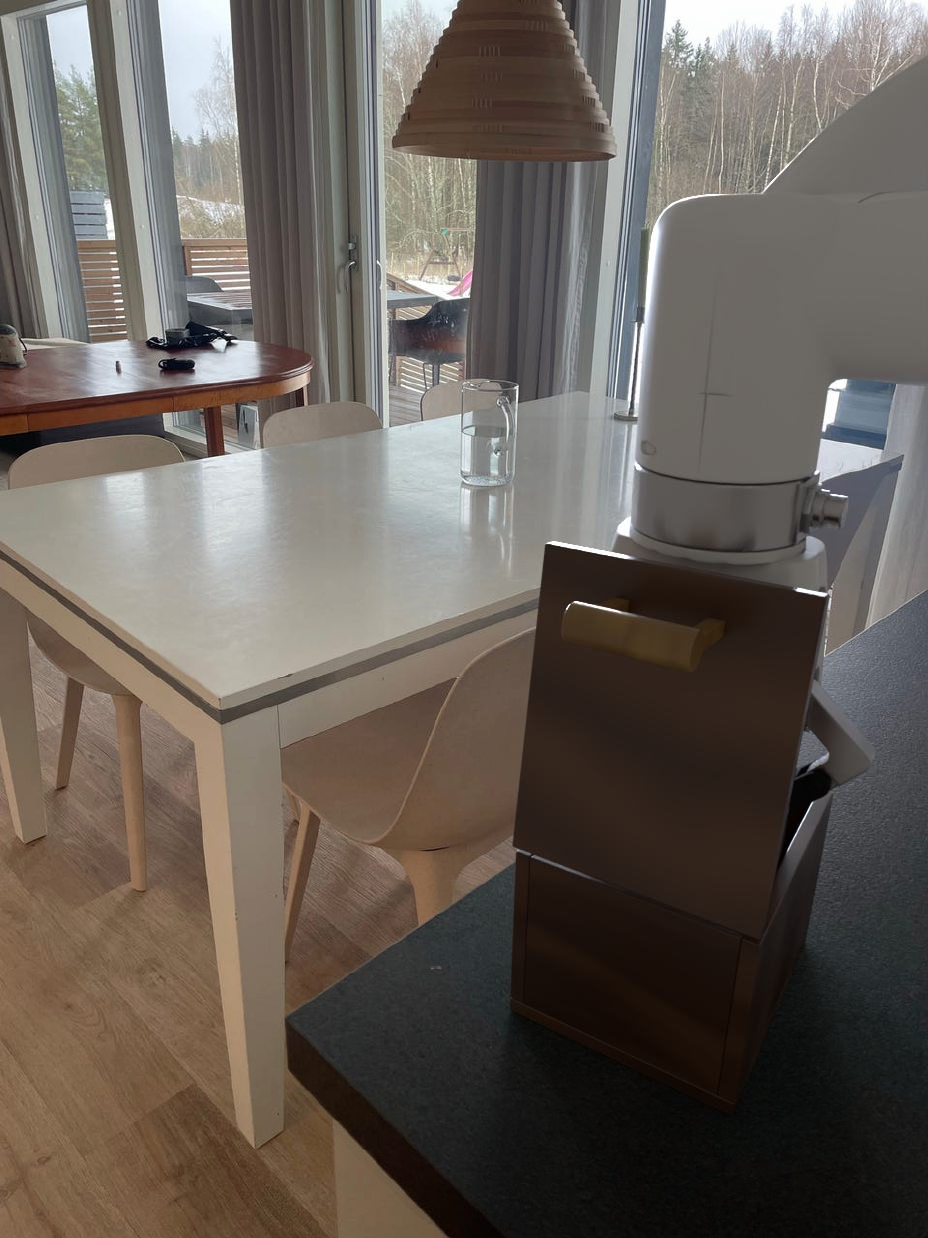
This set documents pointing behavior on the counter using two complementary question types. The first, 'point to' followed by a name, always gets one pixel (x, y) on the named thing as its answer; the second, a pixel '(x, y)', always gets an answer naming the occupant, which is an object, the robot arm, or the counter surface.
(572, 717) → the lid
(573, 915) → the chest
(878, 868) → the counter surface
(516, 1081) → the counter surface
